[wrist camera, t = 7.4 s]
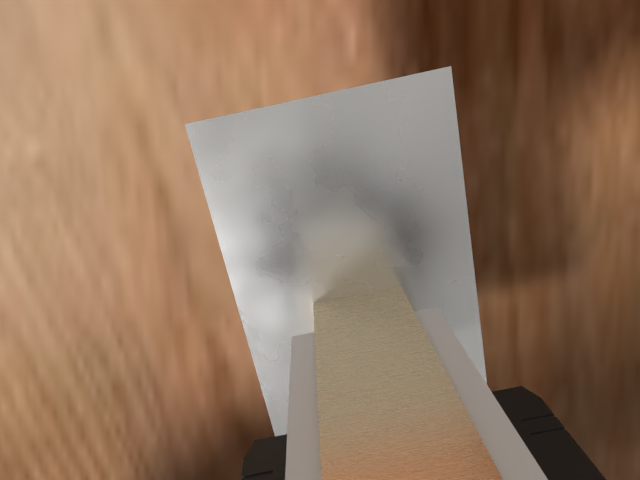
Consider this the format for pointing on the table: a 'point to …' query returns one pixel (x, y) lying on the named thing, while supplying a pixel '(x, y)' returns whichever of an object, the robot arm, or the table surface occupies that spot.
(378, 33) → the table surface
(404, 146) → the beige post on base
